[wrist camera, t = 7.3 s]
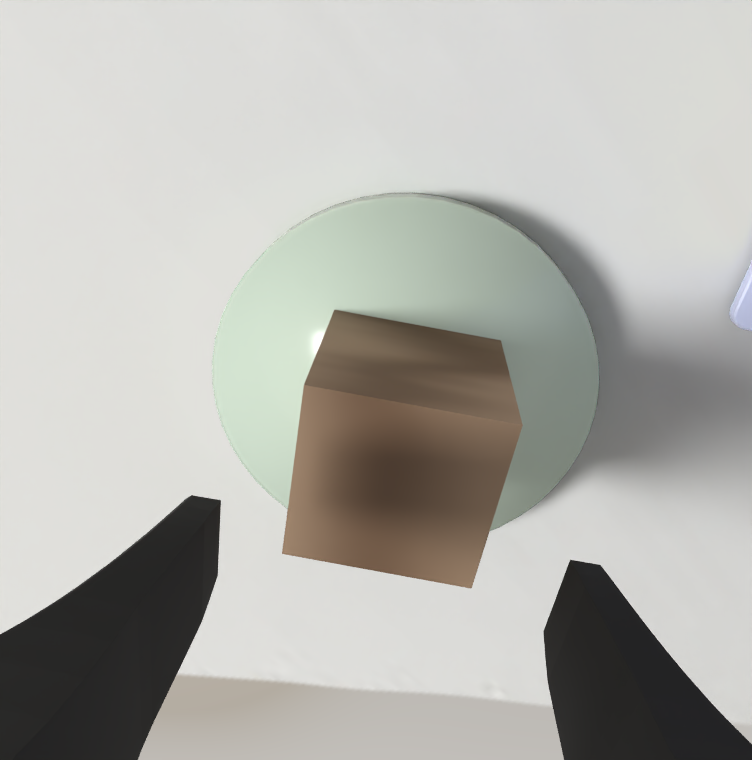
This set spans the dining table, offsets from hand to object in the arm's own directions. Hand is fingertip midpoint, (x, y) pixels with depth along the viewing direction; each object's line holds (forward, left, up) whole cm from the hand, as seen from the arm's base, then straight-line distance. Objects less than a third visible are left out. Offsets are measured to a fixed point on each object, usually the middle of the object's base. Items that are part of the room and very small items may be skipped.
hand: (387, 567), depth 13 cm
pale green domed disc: (0, 0, -9) cm, 9 cm away
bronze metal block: (0, 0, -8) cm, 8 cm away
